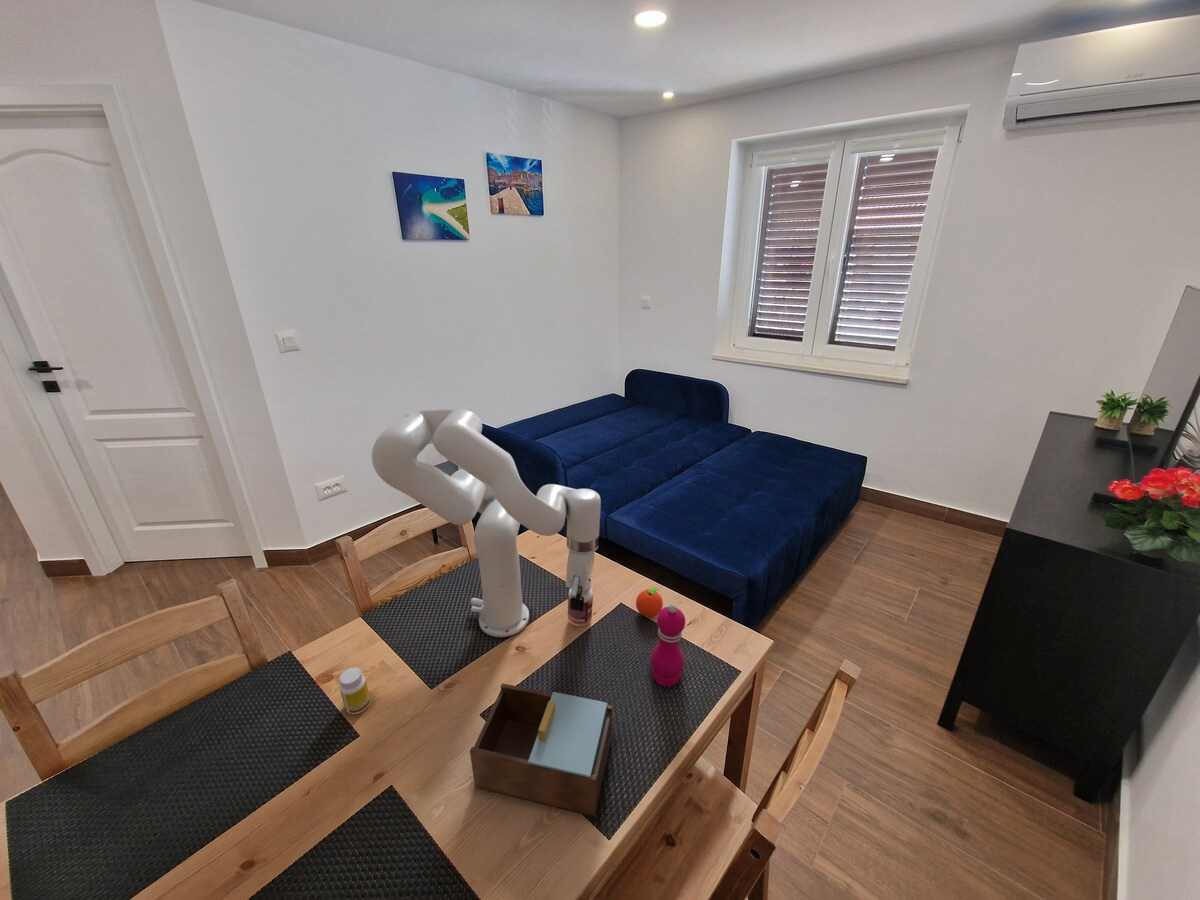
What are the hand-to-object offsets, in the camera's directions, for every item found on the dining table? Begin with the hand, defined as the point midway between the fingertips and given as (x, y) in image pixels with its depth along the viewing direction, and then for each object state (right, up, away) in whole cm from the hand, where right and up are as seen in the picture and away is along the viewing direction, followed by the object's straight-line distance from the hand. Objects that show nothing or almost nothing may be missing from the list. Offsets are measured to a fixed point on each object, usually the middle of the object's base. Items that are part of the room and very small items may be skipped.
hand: (580, 599), depth 121 cm
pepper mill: (+20, -13, -12) cm, 27 cm away
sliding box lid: (0, -12, -36) cm, 38 cm away
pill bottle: (0, -6, +3) cm, 6 cm away
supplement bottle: (-46, -16, -20) cm, 52 cm away
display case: (-5, -21, -31) cm, 38 cm away
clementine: (+18, -5, +6) cm, 20 cm away
